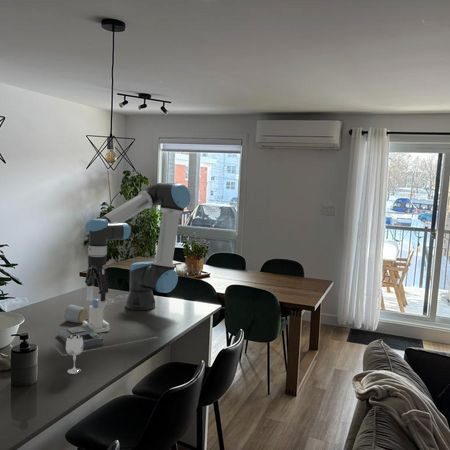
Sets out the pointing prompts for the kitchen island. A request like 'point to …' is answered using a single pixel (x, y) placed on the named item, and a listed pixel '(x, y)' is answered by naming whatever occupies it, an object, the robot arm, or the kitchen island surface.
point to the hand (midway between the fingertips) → (95, 304)
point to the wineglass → (74, 350)
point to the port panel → (87, 335)
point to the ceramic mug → (76, 314)
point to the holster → (105, 328)
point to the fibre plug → (95, 315)
